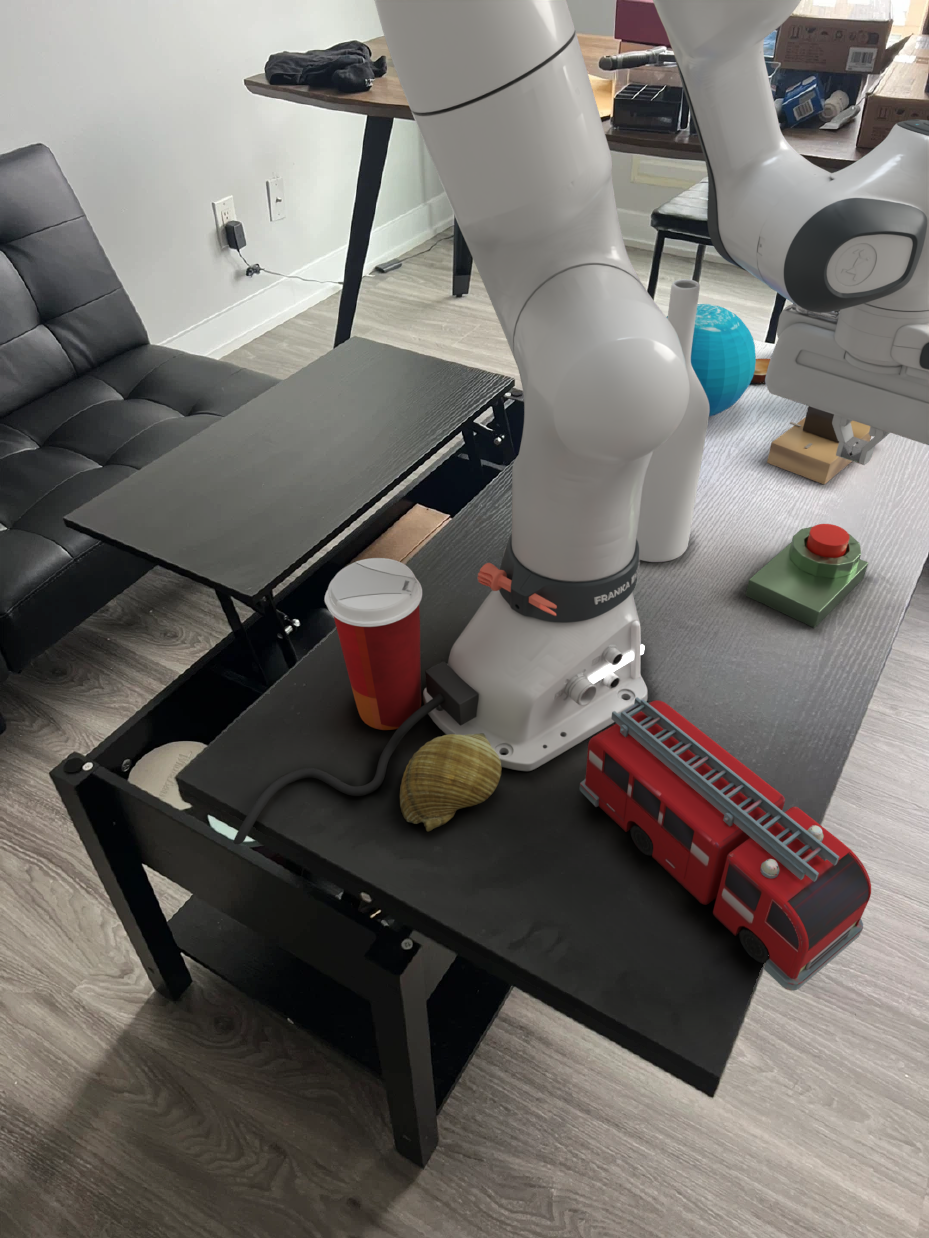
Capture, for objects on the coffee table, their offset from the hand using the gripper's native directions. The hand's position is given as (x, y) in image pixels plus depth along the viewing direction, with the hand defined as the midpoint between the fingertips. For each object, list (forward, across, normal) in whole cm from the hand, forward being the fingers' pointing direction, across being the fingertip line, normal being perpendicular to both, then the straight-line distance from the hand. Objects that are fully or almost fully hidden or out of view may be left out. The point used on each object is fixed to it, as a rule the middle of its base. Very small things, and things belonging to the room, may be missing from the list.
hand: (852, 458), depth 90 cm
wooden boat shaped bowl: (+12, -28, +39) cm, 49 cm away
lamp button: (+11, 0, 0) cm, 11 cm away
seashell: (+14, -9, -49) cm, 52 cm away
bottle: (+15, -17, -7) cm, 24 cm away
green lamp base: (+14, 0, -3) cm, 15 cm away
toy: (+14, +11, -40) cm, 44 cm away
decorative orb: (+15, -31, +22) cm, 41 cm away
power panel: (+15, -12, +23) cm, 30 cm away
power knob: (+12, -12, +23) cm, 28 cm away
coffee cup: (+14, -20, -46) cm, 52 cm away
